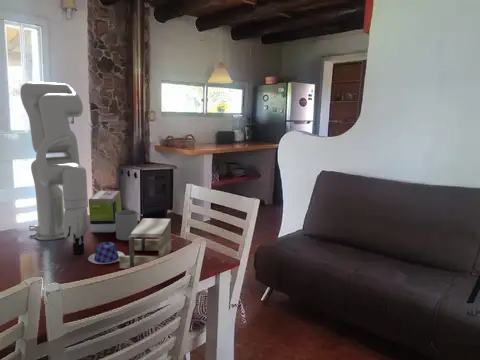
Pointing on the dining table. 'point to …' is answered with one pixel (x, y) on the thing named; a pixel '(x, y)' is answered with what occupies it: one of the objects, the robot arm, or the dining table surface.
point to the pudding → (105, 253)
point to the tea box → (104, 210)
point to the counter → (148, 241)
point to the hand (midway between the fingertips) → (79, 254)
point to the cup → (125, 223)
